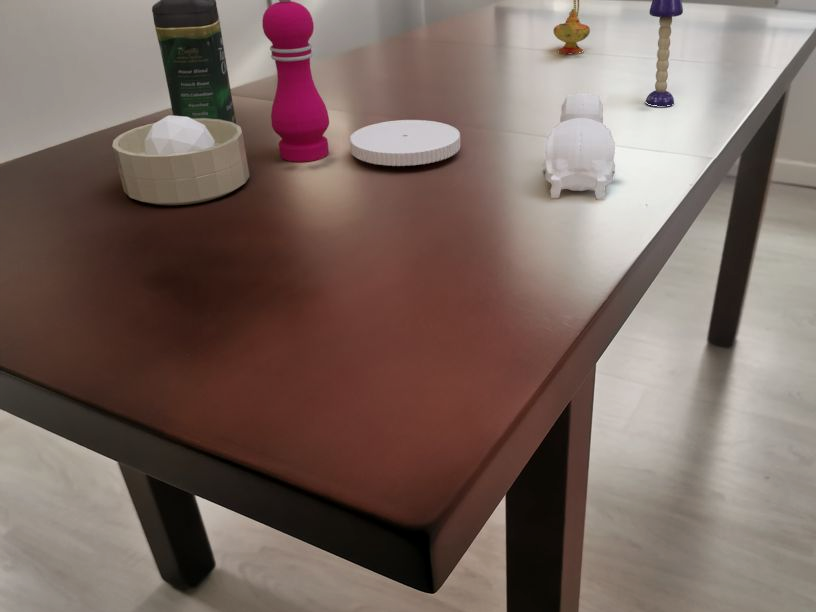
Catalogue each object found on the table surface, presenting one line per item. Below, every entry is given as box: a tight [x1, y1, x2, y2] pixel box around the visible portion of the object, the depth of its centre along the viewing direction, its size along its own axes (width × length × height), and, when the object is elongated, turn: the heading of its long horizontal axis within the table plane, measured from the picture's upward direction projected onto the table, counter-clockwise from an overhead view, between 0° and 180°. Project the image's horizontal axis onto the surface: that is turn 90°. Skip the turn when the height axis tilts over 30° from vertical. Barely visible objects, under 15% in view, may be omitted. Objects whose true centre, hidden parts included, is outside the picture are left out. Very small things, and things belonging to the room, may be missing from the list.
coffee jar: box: [151, 0, 237, 124], centre depth 108 cm, size 10×8×19 cm
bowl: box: [111, 118, 250, 206], centre depth 94 cm, size 14×14×6 cm
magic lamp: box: [552, 0, 591, 55], centre depth 149 cm, size 7×18×11 cm, turn 165°
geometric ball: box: [145, 115, 215, 155], centre depth 93 cm, size 8×8×8 cm
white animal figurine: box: [542, 91, 616, 200], centre depth 93 cm, size 8×8×15 cm
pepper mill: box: [262, 0, 330, 163], centre depth 99 cm, size 7×7×20 cm
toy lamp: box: [644, 0, 684, 108], centre depth 117 cm, size 5×5×17 cm
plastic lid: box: [349, 119, 461, 167], centre depth 103 cm, size 14×14×2 cm
